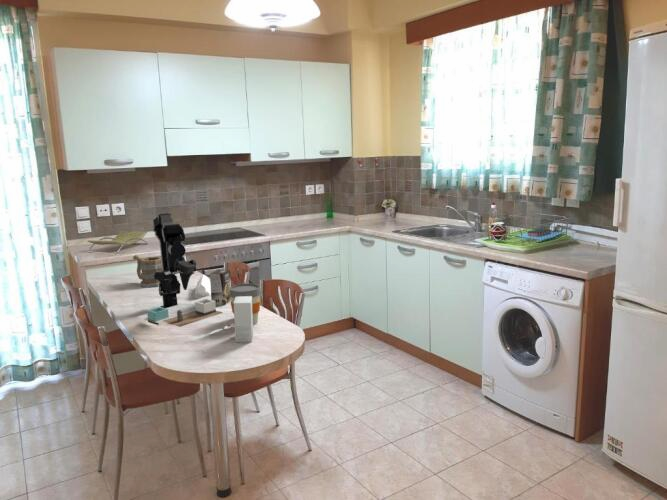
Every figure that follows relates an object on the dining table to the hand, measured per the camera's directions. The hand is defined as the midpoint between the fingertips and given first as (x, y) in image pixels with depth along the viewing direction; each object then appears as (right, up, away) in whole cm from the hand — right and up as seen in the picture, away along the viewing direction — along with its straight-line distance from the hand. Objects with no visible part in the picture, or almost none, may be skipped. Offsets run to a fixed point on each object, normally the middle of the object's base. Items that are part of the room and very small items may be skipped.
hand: (177, 292), depth 217 cm
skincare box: (+31, -16, -18) cm, 39 cm away
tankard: (-35, -1, +66) cm, 74 cm away
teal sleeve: (-9, -12, +4) cm, 16 cm away
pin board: (+6, -12, +4) cm, 14 cm away
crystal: (-1, -4, +46) cm, 46 cm away
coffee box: (+13, -8, +24) cm, 28 cm away
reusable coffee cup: (+29, -13, 0) cm, 31 cm away
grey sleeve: (+9, -10, +9) cm, 16 cm away
